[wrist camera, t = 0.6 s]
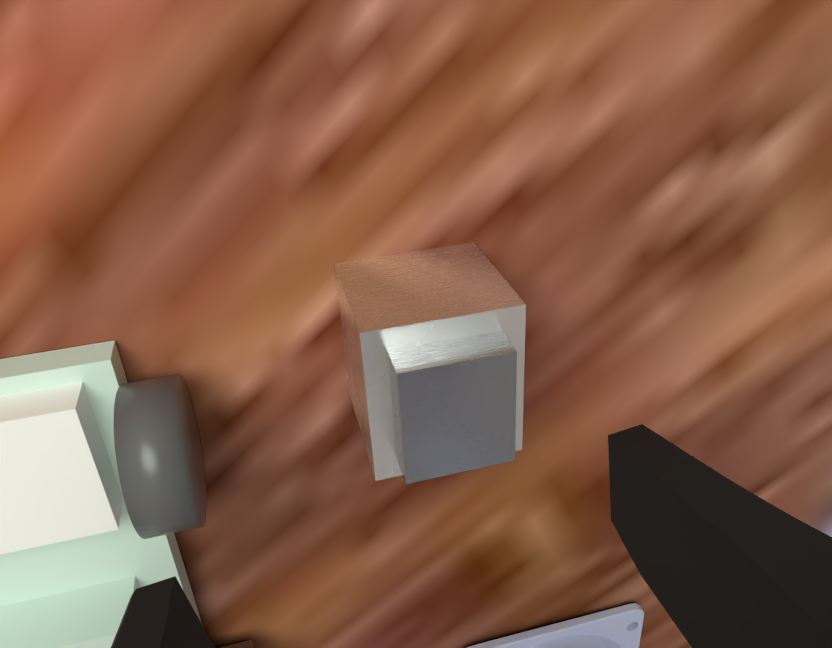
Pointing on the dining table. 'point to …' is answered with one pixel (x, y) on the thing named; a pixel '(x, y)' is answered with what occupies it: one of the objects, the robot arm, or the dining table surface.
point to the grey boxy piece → (433, 360)
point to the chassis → (90, 493)
